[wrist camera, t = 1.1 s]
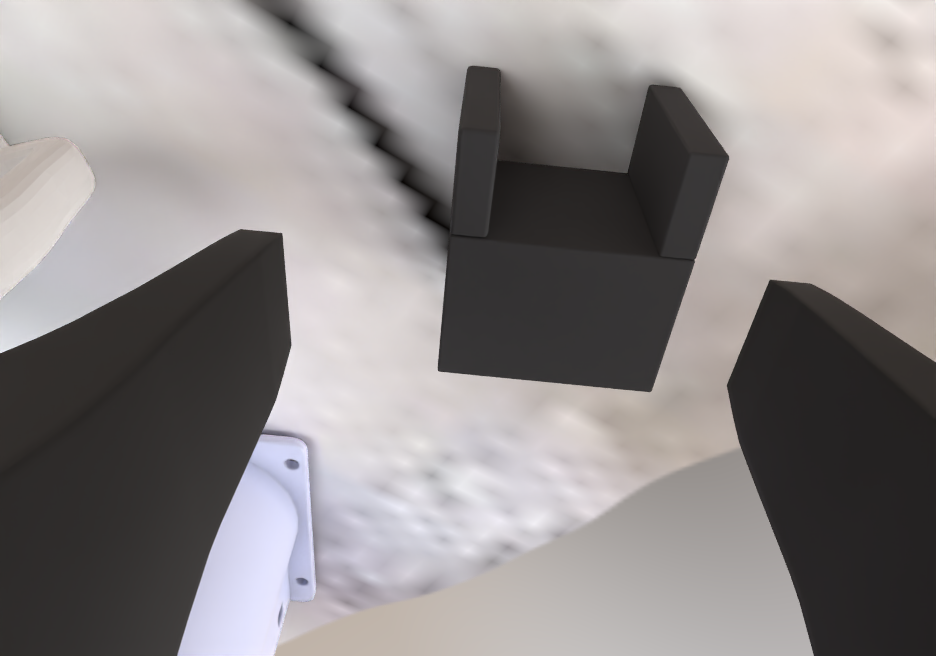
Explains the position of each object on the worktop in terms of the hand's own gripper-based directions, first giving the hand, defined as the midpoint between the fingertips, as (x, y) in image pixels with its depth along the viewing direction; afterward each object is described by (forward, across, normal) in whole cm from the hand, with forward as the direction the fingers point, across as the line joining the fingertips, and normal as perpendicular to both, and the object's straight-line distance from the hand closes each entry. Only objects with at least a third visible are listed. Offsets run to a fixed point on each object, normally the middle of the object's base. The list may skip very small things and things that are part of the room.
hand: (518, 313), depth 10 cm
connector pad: (+8, -1, +2) cm, 9 cm away
